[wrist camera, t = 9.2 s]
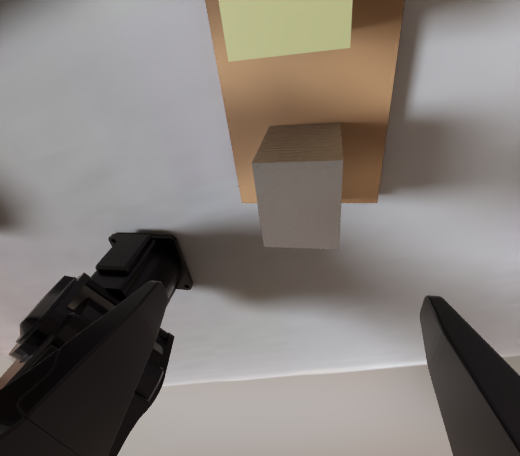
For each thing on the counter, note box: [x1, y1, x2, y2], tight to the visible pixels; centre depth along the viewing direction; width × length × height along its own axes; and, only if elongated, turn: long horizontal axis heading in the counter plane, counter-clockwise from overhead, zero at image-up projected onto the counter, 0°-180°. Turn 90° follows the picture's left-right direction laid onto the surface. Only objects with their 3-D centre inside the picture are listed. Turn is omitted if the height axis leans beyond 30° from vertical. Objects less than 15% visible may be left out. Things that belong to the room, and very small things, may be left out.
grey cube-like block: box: [252, 122, 343, 249], centre depth 16 cm, size 5×4×5 cm
